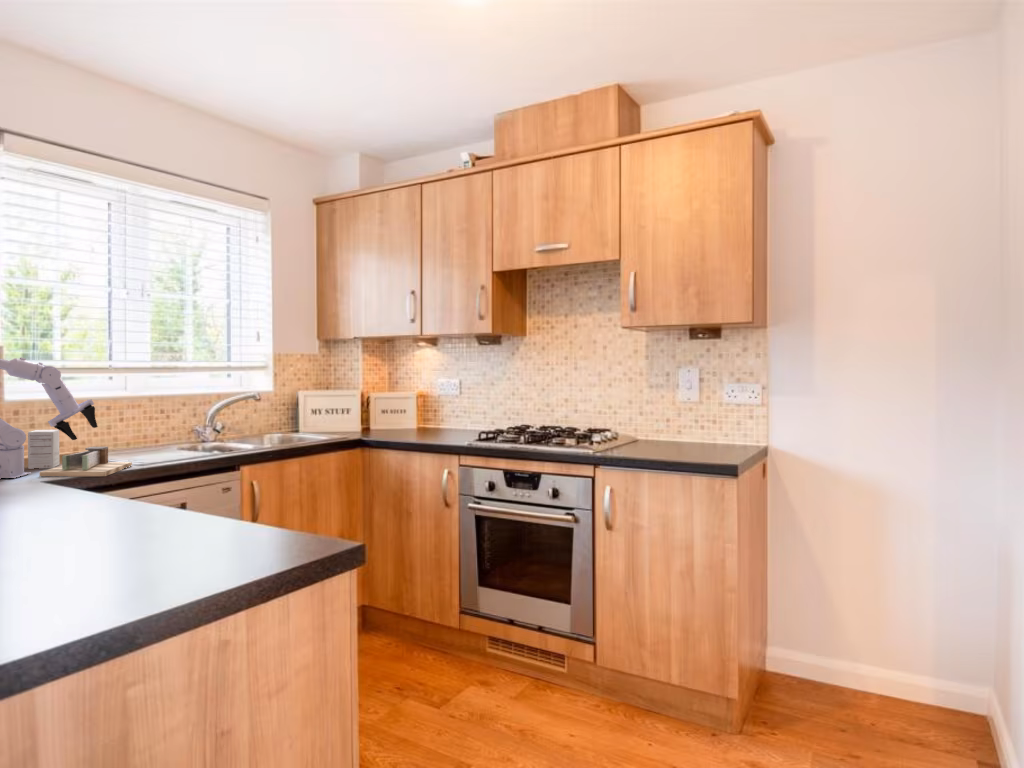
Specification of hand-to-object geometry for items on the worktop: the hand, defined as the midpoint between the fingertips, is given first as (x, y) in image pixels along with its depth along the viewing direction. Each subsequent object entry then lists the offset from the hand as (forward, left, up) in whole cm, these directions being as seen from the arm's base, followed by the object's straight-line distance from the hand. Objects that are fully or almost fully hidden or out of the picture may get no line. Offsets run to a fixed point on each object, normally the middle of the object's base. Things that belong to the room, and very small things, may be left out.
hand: (85, 433), depth 213 cm
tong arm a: (-6, -5, -10) cm, 13 cm away
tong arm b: (-6, -1, -10) cm, 12 cm away
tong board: (-5, -3, -12) cm, 14 cm away
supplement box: (+5, +15, -12) cm, 20 cm away
